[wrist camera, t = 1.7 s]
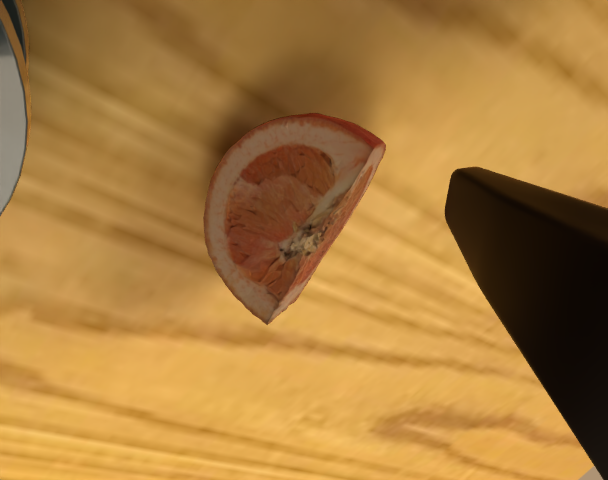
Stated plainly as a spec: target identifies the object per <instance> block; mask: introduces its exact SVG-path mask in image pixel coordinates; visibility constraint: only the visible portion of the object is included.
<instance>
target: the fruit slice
mask: <svg viewBox="0 0 608 480" xmlns="http://www.w3.org/2000/svg"><path fill="white" fill-rule="evenodd" d="M385 148H386V145H385V143H384V142H383V141H382V140H381V139H379V138H378V137H376V136H375V135H374V134H372V133H371V132H369V131H367V130H365V129H364V128H362V127H360V126H358V125H356V124H354V123H351V122H348V121H345V120H342V119H339V118H335V117H330V116H326V115H322V114H319V113H309V114H301V115H291V116H287V117H282V118H278V119H274V120H271V121H268V122H266V123H263V124H261V125H259V126H257V127H256V128H254V129H252V130H251V131H249V132H248V133H246V134H245V135H244V136H243V137H242V138H241V139H240V140H239V141H237V142H236V143H235V144H234V145H233V146H231V147H230V149H229V150H228V151H227V152H226V154H225V155H224V157H223V158H222V160H221V161H220V163H219V164H218V166H217V167H216V170H215V173H214V175H213V177H212V179H211V181H210V185H209V189H208V194H207V198H206V203H205V213H204V233H205V243H206V246H207V250H208V254H209V256H210V258H211V260H212V262H213V265H214V267H215V269H216V271H217V273H218V274H219V276H220V277H221V278H222V280H223V281H224V283H225V285H226V286H227V287H228V288H229V290H230V291H231V292H232V294H233V295H234V296H235V297H236V298H237V299H238V300H239V301H241V302H242V303H243V305H244V306H245V307H246V309H248V310H250V312H251V313H252V314H253V315H255V316H256V317H258V318H259V319H261V320H262V321H263V322H264V323H265V324H267V325H268V324H269V323H270V322H272V321H273V320H274V319H275V318H276V317H277V316H278V315H279V314H280V313H281V312H283V311H285V310H286V309H287V308H288V306H289V305H290V304H292V303H294V302H295V301H296V300H297V298H298V297H299V295H300V294H301V292H302V290H303V289H304V287H305V286H306V285H307V283H308V281H309V280H310V278H311V276H312V275H313V273H314V271H315V270H316V268H317V266H318V265H319V263H320V261H321V260H322V258H323V257H324V255H325V254H326V253H327V251H328V250H329V248H330V247H331V245H332V244H333V242H334V241H335V239H336V238H337V236H338V235H339V233H340V232H341V230H342V229H343V227H344V226H345V224H346V223H347V221H348V220H349V218H350V216H351V215H352V213H353V211H354V210H355V208H356V206H357V205H358V203H359V201H360V200H361V198H362V196H363V195H364V193H365V191H366V190H367V188H368V186H369V184H370V182H371V180H372V178H373V176H374V174H375V172H376V169H377V167H378V165H379V163H380V161H381V159H382V158H383V155H384V152H385V150H386V149H385Z"/></svg>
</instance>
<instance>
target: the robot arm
mask: <svg viewBox="0 0 608 480" xmlns="http://www.w3.org/2000/svg"><path fill="white" fill-rule="evenodd" d="M445 218H446V222H447V224H448V226H449V228H450V230H451V232H452V234H453V236H454V238H455V240H456V242H457V244H458V246H459V248H460V250H461V252H462V254H463V256H464V258H465V260H466V262H467V264H468V266H469V268H470V270H471V272H472V274H473V276H474V278H475V280H476V282H477V284H478V286H479V287H480V289H481V291H482V292H483V294H484V296H485V297H486V299H487V300H488V302H489V303H490V305H491V307H492V308H493V310H494V311H495V313H496V314H497V316H498V317H499V319H500V320H501V322H502V324H503V325H504V327H505V328H506V330H507V331H508V333H509V334H510V336H511V337H512V339H513V341H514V342H515V344H516V345H517V347H518V348H519V350H520V351H521V353H522V354H523V356H524V358H525V359H526V361H527V362H528V364H529V365H530V367H531V368H532V370H533V371H534V373H535V375H536V376H537V378H538V379H539V381H540V382H541V384H542V385H543V387H544V388H545V390H546V392H547V393H548V395H549V396H550V398H551V399H552V401H553V402H554V404H555V405H556V407H557V409H558V410H559V412H560V413H561V415H562V416H563V418H564V419H565V421H566V422H567V424H568V426H569V427H570V429H571V430H572V432H573V433H574V435H575V436H576V438H577V439H578V441H579V443H580V444H581V446H582V447H583V449H584V450H585V452H586V453H587V455H588V456H589V458H590V460H591V461H592V463H593V464H594V466H595V467H596V469H597V470H598V472H599V473H600V475H601V477H602V478H603V480H608V208H605V207H602V206H599V205H596V204H592V203H589V202H586V201H583V200H580V199H577V198H574V197H571V196H567V195H564V194H561V193H558V192H555V191H552V190H549V189H546V188H542V187H539V186H536V185H533V184H530V183H527V182H524V181H520V180H517V179H514V178H511V177H508V176H505V175H502V174H499V173H495V172H492V171H489V170H486V169H483V168H480V167H468V168H461V169H457V170H455V171H454V172H453V173H452V175H451V179H450V184H449V189H448V194H447V200H446V205H445Z"/></svg>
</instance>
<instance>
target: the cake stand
mask: <svg viewBox="0 0 608 480" xmlns="http://www.w3.org/2000/svg"><path fill="white" fill-rule="evenodd" d="M28 66H29V38H28V27H27V22H26V18H25V13H24V9H23V5H22V1H21V0H0V216H1V214H2V213H3V211H4V210H5V208H6V206H7V205H8V203H9V202H10V200H11V198H12V195H13V193H14V191H15V188H16V186H17V183H18V181H19V178H20V176H21V172H22V168H23V164H24V159H25V155H26V150H27V146H28V141H29V137H30V126H31V109H32V107H31V96H30V86H29V77H28Z"/></svg>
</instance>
